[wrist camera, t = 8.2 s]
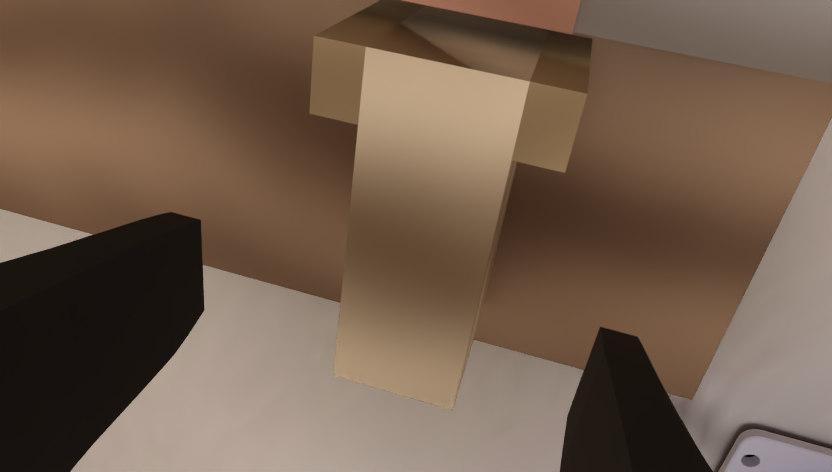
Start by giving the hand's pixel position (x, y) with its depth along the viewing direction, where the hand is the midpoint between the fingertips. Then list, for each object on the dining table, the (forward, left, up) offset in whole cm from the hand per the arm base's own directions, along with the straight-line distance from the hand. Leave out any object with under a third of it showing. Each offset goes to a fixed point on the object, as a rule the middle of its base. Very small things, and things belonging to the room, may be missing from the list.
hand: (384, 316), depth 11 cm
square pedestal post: (0, 0, -7) cm, 7 cm away
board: (+1, +6, -8) cm, 10 cm away
